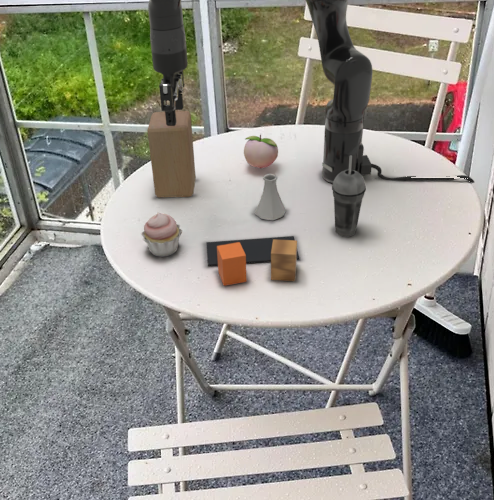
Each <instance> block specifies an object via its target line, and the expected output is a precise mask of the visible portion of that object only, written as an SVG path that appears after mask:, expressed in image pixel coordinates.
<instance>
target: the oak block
mask: <svg viewBox="0 0 494 500" xmlns="http://www.w3.org/2000/svg"><path fill="white" fill-rule="evenodd" d="M297 250H298V240H296V239H295V240H275V239H273V244H272V250H271V262H270V280H271V281H281V282H282V281H284V282H296V275H297V263H298V260H297Z"/></svg>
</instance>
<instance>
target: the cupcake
mask: <svg viewBox="0 0 494 500" xmlns="http://www.w3.org/2000/svg"><path fill="white" fill-rule="evenodd" d="M180 227H181V225H180V224H178V223H177V221H176V220H175V218H174V217H173V216H172V215H170V214H167V213H162V212H160V211H159V212H158V211H157V213H156V214H154V215H152V216H151V217H150V218H148V220H147V221H146V222H145V223H144V225H143V231H142V232H141V233H140V235H141V236H142V237H143V238H142V240H143V241H144V243H146V245H147V248H148V250H149V252H150V253H151V254H152V255H153V256H156V257H162V258H163V257H169V256H171V255H174V254H175V252H176V251H177V250H178V247H179V241H180V237H181V235H182V232H183V229H182V228H180Z"/></svg>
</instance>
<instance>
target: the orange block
mask: <svg viewBox="0 0 494 500" xmlns="http://www.w3.org/2000/svg"><path fill="white" fill-rule="evenodd" d="M217 258H218V266H217V272H218V275H219V277H220V280H221V282H222V285H223V286H224V287H225V286H230V285H237V284H241V283H247V282H248V281H247V264H246V255H245V253H244V250H243V248H242V246H241V244H240V242H237V243H231V244H226V245H220V246H217Z"/></svg>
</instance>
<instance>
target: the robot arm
mask: <svg viewBox="0 0 494 500" xmlns="http://www.w3.org/2000/svg"><path fill="white" fill-rule="evenodd" d="M305 2H306V4H307V9H308V11H309V12H308V13H309V15H310V19H311V21H312V24H313V27H314V30H315V34H316V37H317V42H318V48H319V55H320V61H321V66H322V71H323V74H324V76H325V78H326V79H327V80H328V82H330V83H331V84H332V85H334V87H333V98H332V99H330V100H329V101H328V102H327V103H326V106H325V118H324V135H323V136H324V138H323V139H324V140H323V154H322V156H323V158H322V163H321V167H322V171H321V176H322V179H323V180H324V181H326V182H327V183H330V184H333V182H334V179H335V178H336V176H337V175H338V174H339V173H340V172H342V171H344V170H349V158H350V155H351V156H352V165H351V170H355V171H357V172H359V173H360V174H361V175H362V176H370V175H372V169H374V170H376V171H377V173H376V174H377V177H378V178H379V179H381V180H384V181H392V182H393V181H394V182H402V181H457V180H458V179H454V178H411V177H416V176H417V175H407V177H406V176H405V175H404V176H397V177H388V176H385V175H384V174H382V172H383V171H382V168H381V167H380V166H379V165H377V164H374V163H371V161H370V159H369V158H370V157H368V155H367V154H364V150H365V149H364V148H365V146H364V145H363V132H364V121H365V112H366V109H367V107H368V106H369V103H370V96H371V90H372V84H373V83H372V82H373V63H372V61H371V59H369V57H368V56H367V55H365V54H364V53H362V52H361V51H359V50H358V49H356V47H355V46H354V43H353V40H352V38H351V34H350V31H349V28H348V22H347V11H348V7H349V6H348V5H349V0H305ZM147 4H148V5H147V10H148V21H149V41H150V49H151V60H152V67H153V70H154V72H157V73H159V74H161V75H162V78H161V79H160V83H159V85H158V88H159V97H160V99H159V100H160V109H161V112H165V117H166V125H167V126H175V125H176V112H175V111H183V109H184V97H183V94H184V88H185V86H186V85H185V76H184V70H186V69H187V67H188V66H189V65H188V64H189V63H188V62H189V61H188V51H187V38H186V36H187V35H186V30H185V25H184V14H183V5H182V0H148V3H147ZM168 102H169V104H168ZM456 176H457V177H460V178H464V179H463V180H465V181H467V182H469V181H470V182H469V183H470V184H475V180H474V179H473V178H472V177H471V176H469V175H465V174H459V175H456ZM465 178H466V179H465ZM467 178H468V179H467Z"/></svg>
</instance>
